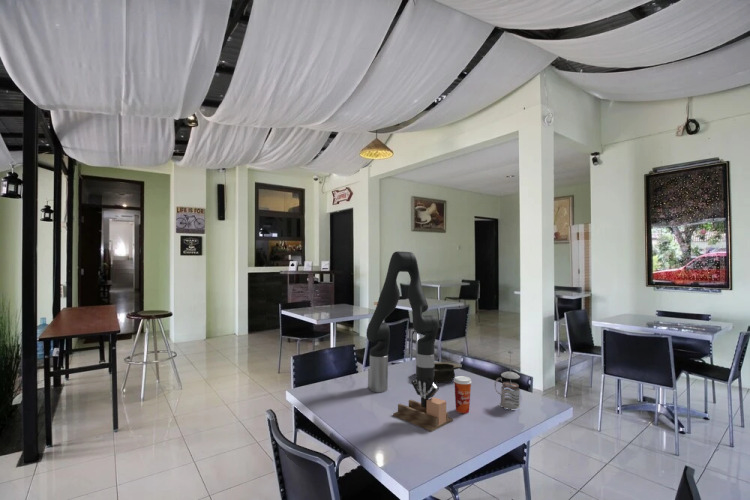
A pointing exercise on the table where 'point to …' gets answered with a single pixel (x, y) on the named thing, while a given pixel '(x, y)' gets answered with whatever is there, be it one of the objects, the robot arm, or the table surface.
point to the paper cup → (462, 393)
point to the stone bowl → (444, 371)
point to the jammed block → (437, 409)
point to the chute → (419, 416)
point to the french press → (514, 400)
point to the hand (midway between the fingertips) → (424, 406)
